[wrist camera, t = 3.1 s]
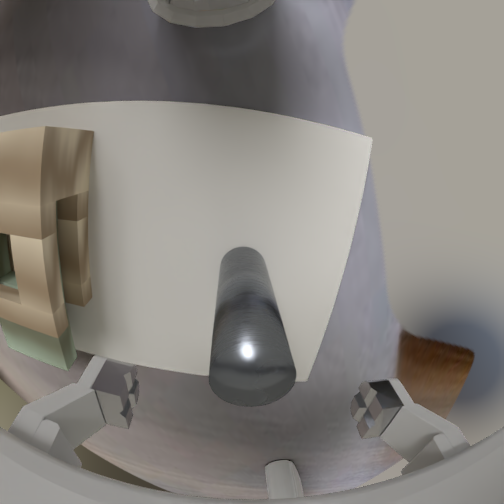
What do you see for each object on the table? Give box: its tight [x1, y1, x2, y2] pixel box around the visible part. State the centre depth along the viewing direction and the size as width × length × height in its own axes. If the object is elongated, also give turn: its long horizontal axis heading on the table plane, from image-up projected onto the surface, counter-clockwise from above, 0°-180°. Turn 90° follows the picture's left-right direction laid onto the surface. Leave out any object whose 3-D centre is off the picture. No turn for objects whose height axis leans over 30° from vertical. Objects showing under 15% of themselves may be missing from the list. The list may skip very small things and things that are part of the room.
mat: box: [0, 101, 373, 382], centre depth 18 cm, size 20×30×1 cm, turn 81°
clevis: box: [0, 126, 94, 371], centre depth 14 cm, size 17×10×6 cm, turn 171°
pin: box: [209, 247, 296, 407], centre depth 13 cm, size 3×3×10 cm
